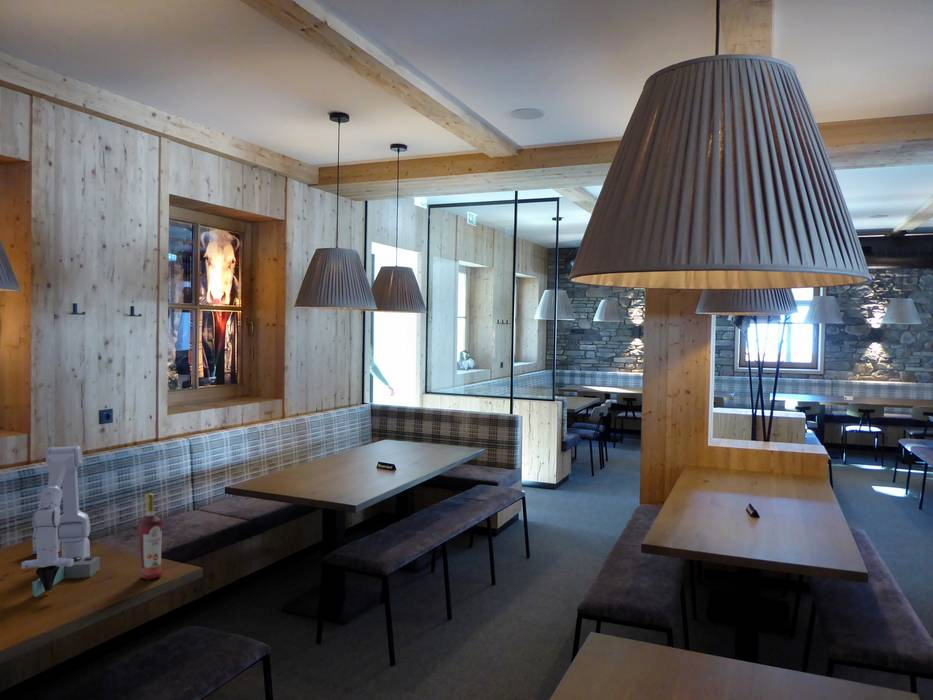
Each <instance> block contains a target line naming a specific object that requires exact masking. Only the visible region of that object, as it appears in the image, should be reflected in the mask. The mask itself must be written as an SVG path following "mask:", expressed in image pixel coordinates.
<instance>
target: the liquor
mask: <svg viewBox="0 0 933 700" xmlns="http://www.w3.org/2000/svg"><path fill="white" fill-rule="evenodd" d="M154 498H155V494H154V493H146V494H144V501H145V511H144V513H145V514H144V517H143V518H141V519H140V520H139V521H138V522H137V528H138V529H137V531H138V542H139V552H140V553H139V555H140V571H141V573H140V574H139V577H140V578H142V579H143V580H145V579H153V580H156V579H158V578H159V577H160V576H161V575H162V574H163V570H162V541H163V540H162V537H163V536H162V534H163V532H162V531H163V520H162V518H160V517H158V516H156V515H155V507H154ZM157 577H158V578H157ZM155 578H156V579H155Z"/></svg>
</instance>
